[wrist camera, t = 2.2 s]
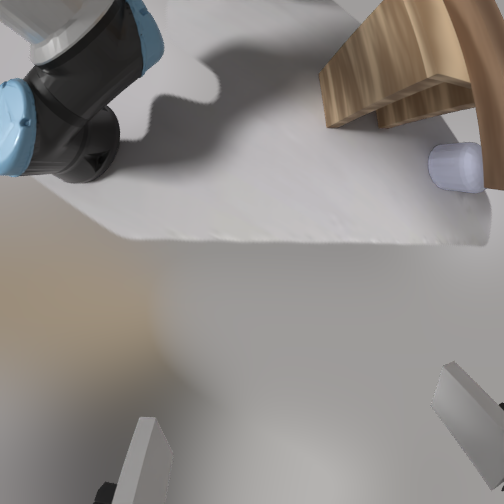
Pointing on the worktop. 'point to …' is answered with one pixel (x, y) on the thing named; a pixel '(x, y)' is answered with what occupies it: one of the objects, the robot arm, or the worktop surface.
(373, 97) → the bridge
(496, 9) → the walnut rail
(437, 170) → the soap bottle
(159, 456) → the robot arm
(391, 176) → the worktop surface
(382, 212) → the worktop surface
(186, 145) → the worktop surface
